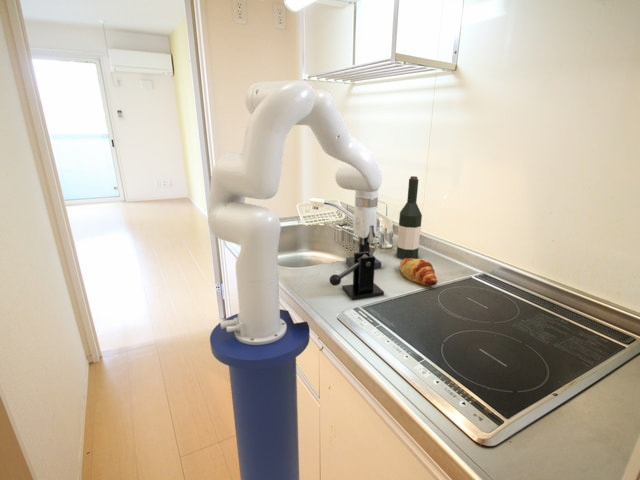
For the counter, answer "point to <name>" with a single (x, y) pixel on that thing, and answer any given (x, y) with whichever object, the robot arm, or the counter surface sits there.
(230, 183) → the robot arm
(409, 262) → the croissant
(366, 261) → the lever bracket
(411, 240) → the wine bottle
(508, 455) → the counter surface
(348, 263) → the button housing
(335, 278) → the ball knob lever
